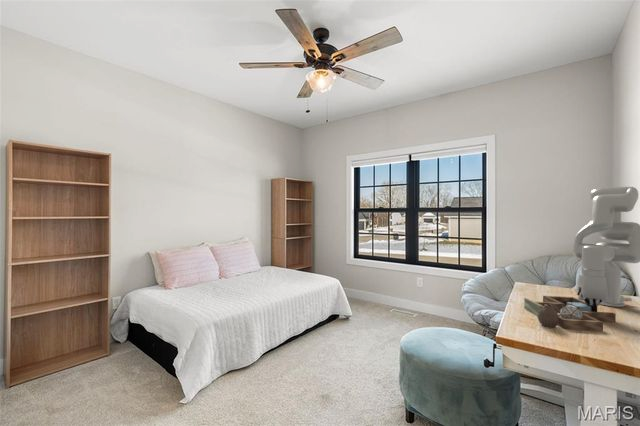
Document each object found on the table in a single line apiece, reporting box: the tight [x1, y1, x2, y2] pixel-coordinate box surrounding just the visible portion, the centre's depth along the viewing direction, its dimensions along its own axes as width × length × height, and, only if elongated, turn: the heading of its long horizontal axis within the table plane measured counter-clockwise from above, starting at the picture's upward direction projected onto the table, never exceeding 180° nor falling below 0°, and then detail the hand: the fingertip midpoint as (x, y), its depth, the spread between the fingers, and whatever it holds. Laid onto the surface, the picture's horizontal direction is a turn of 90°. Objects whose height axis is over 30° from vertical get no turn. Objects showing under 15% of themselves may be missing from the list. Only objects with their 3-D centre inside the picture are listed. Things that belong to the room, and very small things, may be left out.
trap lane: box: [523, 295, 617, 332], centre depth 136 cm, size 30×38×5 cm
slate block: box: [567, 302, 591, 311], centre depth 135 cm, size 6×6×5 cm
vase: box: [537, 304, 559, 329], centre depth 121 cm, size 7×7×9 cm
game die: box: [558, 303, 584, 320], centre depth 125 cm, size 9×8×10 cm
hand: (592, 313), depth 134 cm, fingers closed
